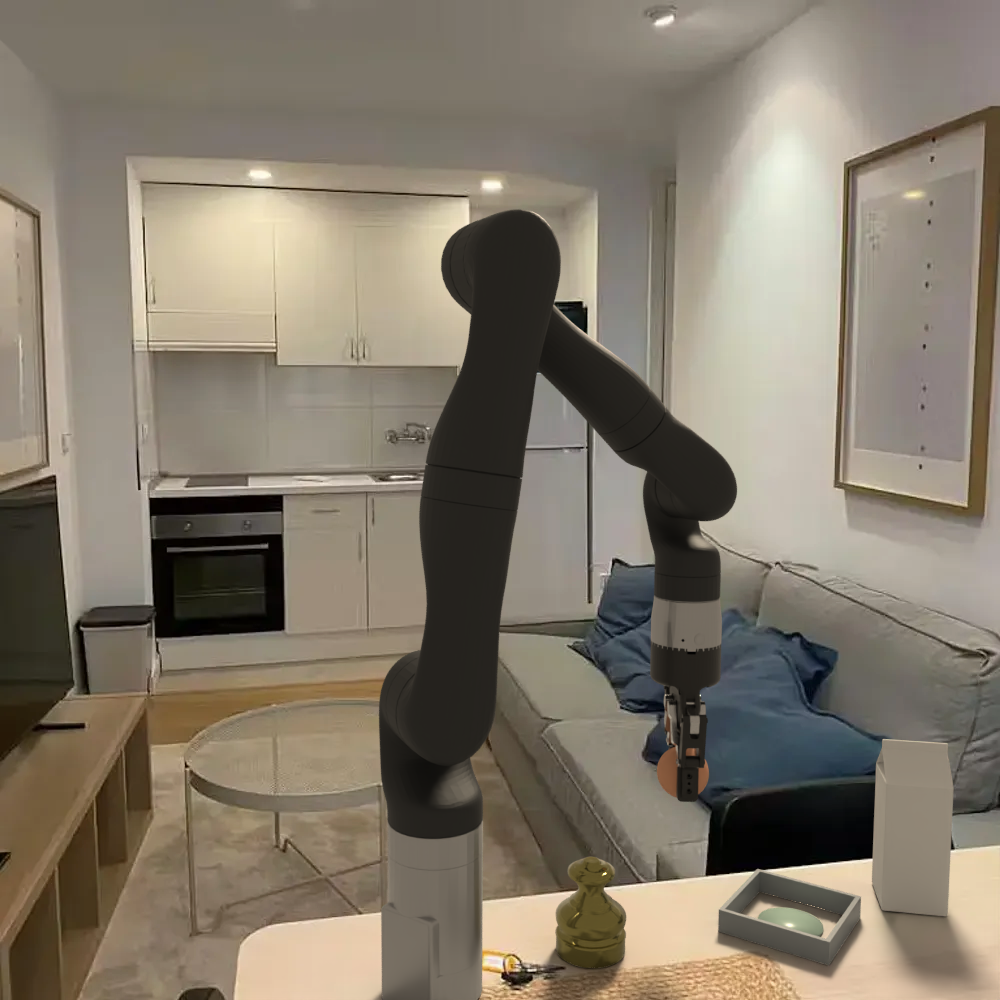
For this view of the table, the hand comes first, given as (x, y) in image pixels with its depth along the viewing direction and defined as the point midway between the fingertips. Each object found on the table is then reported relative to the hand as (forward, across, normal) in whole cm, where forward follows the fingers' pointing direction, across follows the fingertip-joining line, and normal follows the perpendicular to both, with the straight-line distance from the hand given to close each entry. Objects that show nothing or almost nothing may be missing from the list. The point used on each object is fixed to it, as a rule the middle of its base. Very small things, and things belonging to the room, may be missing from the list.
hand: (682, 789), depth 110 cm
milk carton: (+16, -7, +28) cm, 32 cm away
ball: (+1, 0, 0) cm, 1 cm away
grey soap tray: (+15, 0, +12) cm, 20 cm away
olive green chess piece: (+16, +6, -10) cm, 20 cm away
